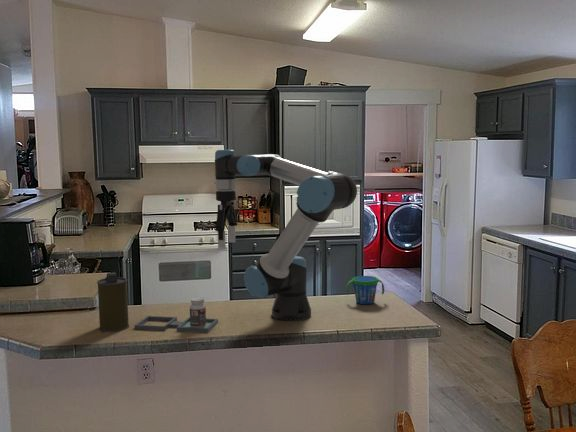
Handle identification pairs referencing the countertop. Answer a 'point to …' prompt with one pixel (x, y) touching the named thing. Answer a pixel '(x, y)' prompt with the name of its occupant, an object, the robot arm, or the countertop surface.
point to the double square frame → (175, 324)
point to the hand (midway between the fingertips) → (227, 245)
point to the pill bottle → (197, 312)
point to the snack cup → (365, 288)
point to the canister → (113, 303)
